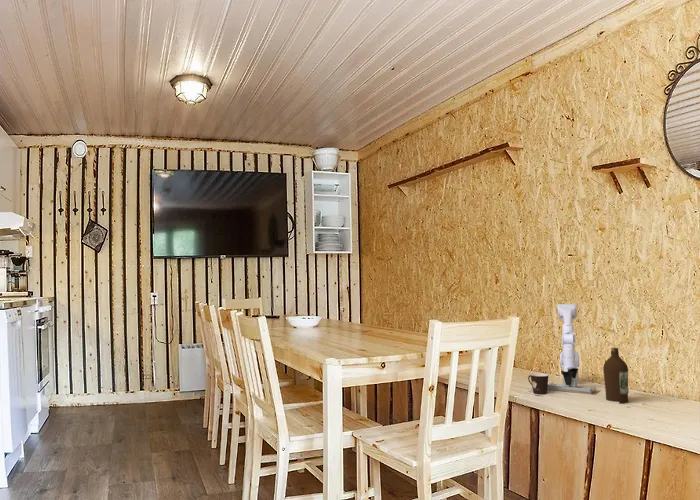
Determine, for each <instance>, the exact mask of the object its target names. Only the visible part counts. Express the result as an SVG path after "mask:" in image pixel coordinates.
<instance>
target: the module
mask: <svg viewBox="0 0 700 500" xmlns="http://www.w3.org/2000/svg"><path fill="white" fill-rule="evenodd" d="M562 385H563V386H567V387H577V386H578V384H577V379H576V378H571V385H566V383H565V380H564V378H563V377H562Z"/></svg>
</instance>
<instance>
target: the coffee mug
mask: <svg viewBox="0 0 700 500" xmlns="http://www.w3.org/2000/svg"><path fill="white" fill-rule="evenodd" d="M527 380H528V383H529V384H530V385H531V386H532V393H533V395H534V396H536V397H540V396H545V395H547V394H548V390H547V387H548V384H549V374H547V373H536V372H535V373H530V375H528V377H527Z"/></svg>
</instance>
